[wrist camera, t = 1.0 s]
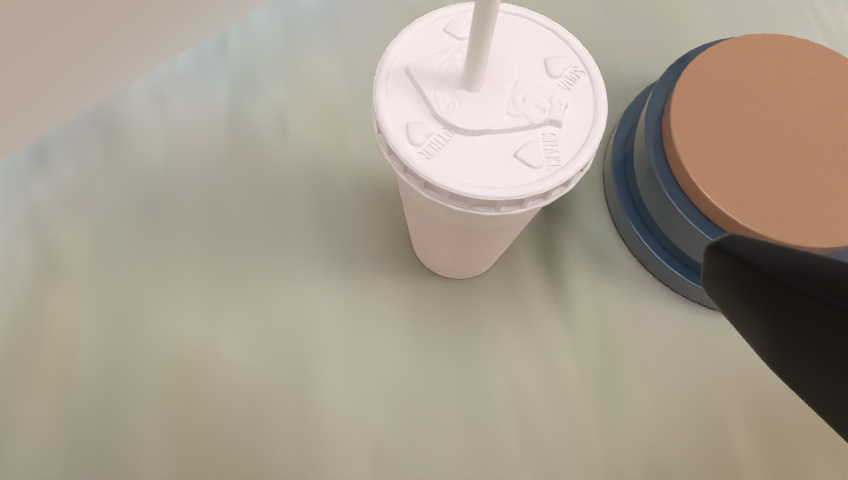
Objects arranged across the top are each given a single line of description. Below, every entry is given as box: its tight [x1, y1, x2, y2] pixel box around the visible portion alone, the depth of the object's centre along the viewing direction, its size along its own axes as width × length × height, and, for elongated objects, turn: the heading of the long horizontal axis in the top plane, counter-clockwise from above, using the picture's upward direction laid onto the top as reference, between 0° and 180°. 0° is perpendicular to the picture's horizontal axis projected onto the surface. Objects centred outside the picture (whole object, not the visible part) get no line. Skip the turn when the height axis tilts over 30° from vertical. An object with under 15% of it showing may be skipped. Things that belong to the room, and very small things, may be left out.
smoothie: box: [372, 0, 608, 279], centre depth 21 cm, size 6×6×14 cm
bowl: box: [603, 34, 848, 311], centre depth 26 cm, size 11×11×4 cm
